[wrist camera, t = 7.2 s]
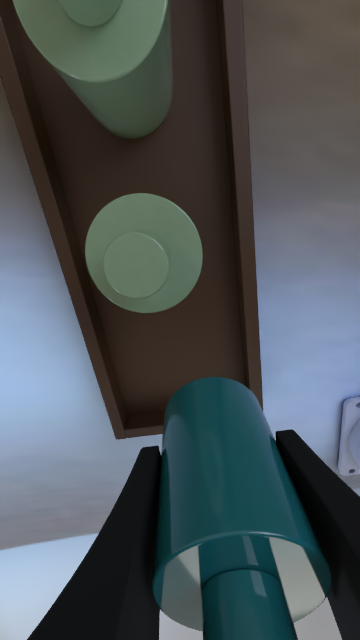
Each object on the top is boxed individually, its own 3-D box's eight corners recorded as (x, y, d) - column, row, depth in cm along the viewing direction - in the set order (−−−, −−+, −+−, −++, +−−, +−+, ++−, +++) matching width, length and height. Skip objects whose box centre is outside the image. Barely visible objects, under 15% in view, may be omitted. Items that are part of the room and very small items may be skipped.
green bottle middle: (188, 196, 14) (198, 172, 7) (198, 274, 16) (216, 323, 9) (110, 210, 15) (40, 200, 7) (128, 285, 16) (85, 342, 9)
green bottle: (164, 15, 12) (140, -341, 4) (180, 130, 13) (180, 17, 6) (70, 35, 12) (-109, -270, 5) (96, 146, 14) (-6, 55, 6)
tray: (224, -83, 11) (234, -154, 9) (254, 400, 20) (263, 421, 18) (-10, -29, 12) (-52, -85, 10) (122, 417, 21) (115, 440, 19)
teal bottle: (258, 369, 11) (422, 682, 4) (262, 447, 13) (383, 777, 5) (156, 383, 11) (110, 704, 4) (172, 457, 13) (164, 789, 5)
